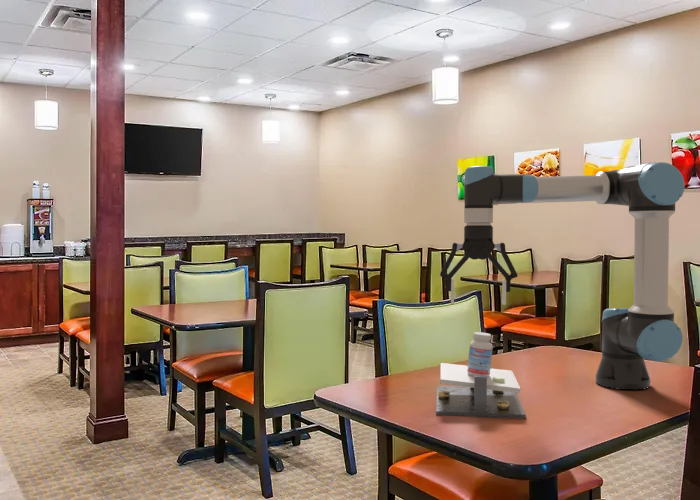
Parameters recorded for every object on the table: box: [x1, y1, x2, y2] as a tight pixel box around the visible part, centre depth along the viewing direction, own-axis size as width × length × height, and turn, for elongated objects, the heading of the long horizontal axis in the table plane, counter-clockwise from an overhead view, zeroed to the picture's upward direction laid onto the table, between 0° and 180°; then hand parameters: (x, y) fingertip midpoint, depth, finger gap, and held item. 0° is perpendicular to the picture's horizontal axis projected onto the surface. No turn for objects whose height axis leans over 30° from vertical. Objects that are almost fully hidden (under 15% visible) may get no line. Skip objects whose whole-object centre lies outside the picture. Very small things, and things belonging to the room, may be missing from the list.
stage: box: [439, 362, 521, 394], centre depth 173 cm, size 20×22×2 cm
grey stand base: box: [435, 376, 527, 419], centre depth 173 cm, size 22×26×10 cm
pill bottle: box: [467, 331, 494, 377], centre depth 172 cm, size 6×6×11 cm
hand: (478, 304), depth 172 cm, fingers open, 13 cm apart
